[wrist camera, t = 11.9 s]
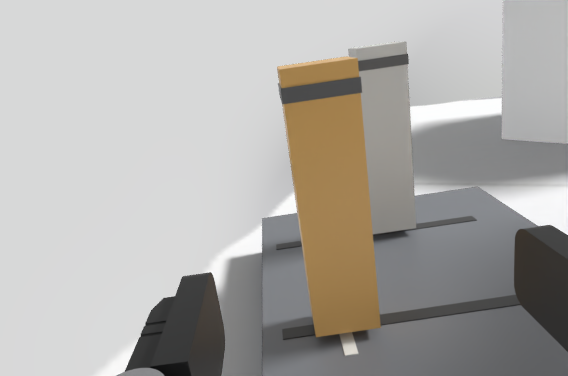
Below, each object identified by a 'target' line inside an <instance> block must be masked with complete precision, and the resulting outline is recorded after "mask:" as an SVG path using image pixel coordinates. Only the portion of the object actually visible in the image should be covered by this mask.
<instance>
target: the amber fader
mask: <svg viewBox="0 0 568 376" xmlns="http://www.w3.org/2000/svg"><path fill="white" fill-rule="evenodd" d="M277 70H278V78H279V84H278V86H279V92H280V98H281V101H282V106H283V113H284V121H285V128H286V135H287V142H288V149H289V157H290V164H291V170H292V178H293V184H294V192H295V200H296V207H297V214H298V221H299V228H300V236H301V243H302V250H303V257H304V264H305V272H306V279H307V286H308V293H309V300H310V307H311V313H312V318H313V324H314V329H315V334H316V337H321V336H328V335H335V334H342V333H348V332H355V331H362V330H369V329H376V328H381V325H380V313H379V301H378V290H377V278H376V266H375V255H374V243H373V231H372V220H371V208H370V196H369V185H368V173H367V161H366V150H365V138H364V126H363V114H362V103H361V93H362V84H361V77H360V76H359V68H358V58H353V57H340V58H333V59H327V60H320V61H313V62H306V63H299V64H292V65H286V66H278V67H277Z"/></svg>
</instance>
